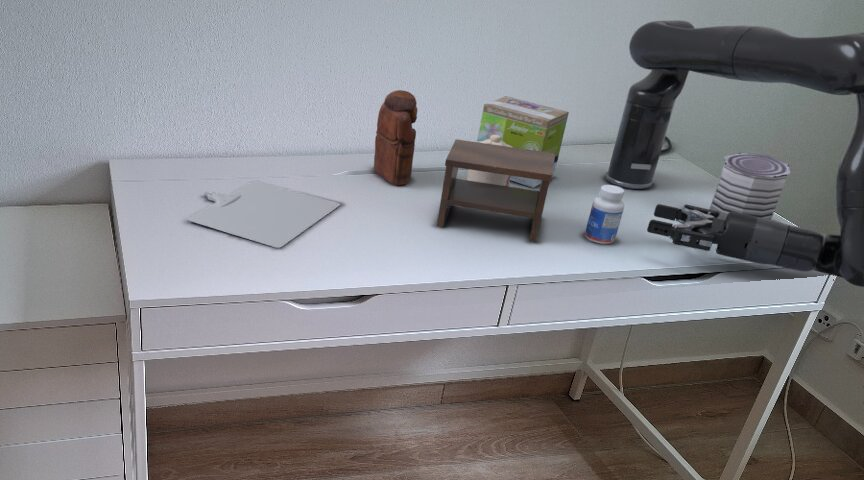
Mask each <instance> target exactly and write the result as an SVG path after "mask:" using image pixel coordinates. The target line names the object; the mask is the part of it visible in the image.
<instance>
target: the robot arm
mask: <svg viewBox="0 0 864 480" xmlns="http://www.w3.org/2000/svg"><path fill="white" fill-rule="evenodd" d="M628 45H629V46H628V50H629V55H630V58H631V59H632V61H633V62H634V64H636V66H638V67H639V68H641V69H643V70H648V71H649V73H648V74H647V75H646V76H645V77H643V78H642V79H640V80H638V81H636V82H635V83H633V84H632V85H631V86H630V87H629V89H628V92H627V95H626V99H625V104H624V108H623V111H622V116H621V120H620V123H619V126H618V127H619V128H618V131H617V135H616V139H615V143H614V147H613V150H612V154H611V158H610V162H609V165H608V170H607V172H606V175H605V180H606V181H607V182H609V183H610V184H611V185H614V186H618V187H621V188H625V189H633V190H644V189H650V188H651V187H652V185H653V182H654V176H655V173H656V170H657V167H658V163H659V160H660V156H661V154H663V153H667V152H669V151H671V149H672V147H673V146H672V145H673V144H672V142H671V140H670V138H669V137H668V136H666V135H667V132H668V128H669V125H670V122H671V118H672V113H673V111H674V106H675V104H676V102H677V101H676V100H677V98H678V97H679V96H680V95H681V93H682V91H683V90H684V87H685V84H686V82H687V78H688V76H689V72H693V73H697V74H702V75H707V76H710V77H711V76H712V77H716V78H722V79H727V80H734V81H741V82H749V83H762V84H763V83H764V84H765V83H766V84H775V83H776V84H777V83H778V84H780V83H782V84H790V85H795V86H798V87H801V88H802V87H803V88H807V89H809V90H810V89H811V90H814V91H817V92H822V93H824V94H828V95H832V96H833V95H834V96H851V95H855V101H856V102H855V103H856V115H855V122H854V126H853V130H852V133H851V136H850V138H849V141H848V143H847V146H846V148H845V150H844V153H843V155H842V157H841V160H840V162H839V166H838V169H837V175H836V182H835V183H836V184H835V185H836V186H835V190H836V192H835V200H836V201H835V202H836V203H835V204H836V205H835V207H836V217H837V222H838V224H839V228H840V234H834V233H826V232H821V231H817V230H814V229H811V228H806V227H801V226H798V225H797V226H796V225H793V224H787V223H785V222H784V223H783V222H781V221H778V220H774V219H771V220H770V219H766V218H761V217H756V216H751V215H746V214H741V213H736V212H730V213H728V215H727V217H726V220H721V219H718V217H719V214H720V212H718V211H713V210H709V209H710V208H709V209H708V208H704V207H700V206H697V205H696V206H695V205H691V204H684V205H683V206H680V207H675V206H672V205H671V206H670V205H666V204H661V203H658V204H656V205H655V208H654V211H653V216H654V217H655V218H658V219H659V218H660V219H664V220H669V221H676V222H677V223H679V224H677V223H676V224H674V223H671V222H667V221H662V220H657V219H650V220H649V222H648V226H647V229H646V231H647V232H648V233H649V234H654V235H659V236H664V237H668V238H669V239H670V240H672V242H671V244H673V245H676V246H681V247H686V248H692V249H696V250H701V251H706V252H709V251H711V249H712V246H713V245H716V249H715V253H716V254H717V255H719V256H723V257H728V258H733V259H737V260H741V261H746V262H750V263H755V264H760V265H768V266H776V267H780V268H785V269H789V270H794V271H799V272H811V271H813V272H817V273H822V274H826V275H829V276H834V277H838V278H843V279H844V280H845V281H846V282H848V283H849V284H851V285H853V286H857V287H862V288H864V32H855V33H854V32H853V33H845V34H839V35H831V36H813V37H812V36H811V37H810V36H809V37H806V36H805V37H802V36H793V35H790V34H788V33H786V32H784V31H783V30H780V29H777V28H774V27H768V26H762V25H761V26H758V25H742V24H741V25H739V24H737V25H718V26H707V27H696V28H695V26H694V25H693V24H692V23H691V22H690V21H687V20H678V19H677V20H675V19H674V20H673V19H672V20H671V19H669V20H653V21H649V22H647V23H644V24H643V25H640V27H638V28H637V29H636V30H635V31H634V33H633V35H632V36H631V38H630V40H629V43H628ZM665 141H666V143H667V148H664V149H663V146H664V143H665Z"/></svg>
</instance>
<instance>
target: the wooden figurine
mask: <svg viewBox="0 0 864 480" xmlns="http://www.w3.org/2000/svg"><path fill="white" fill-rule="evenodd" d="M417 119H418V107H417V100H416V96H415V95H414V94H412V93H411V92H409V91H407V90H402V89H399V90H394V91H391V92H389V94H387V95H386V96H385V98H384V101H383V103H382V104H381V106H380V108H379V112H378V116H377V123H376V132H375V139H374V157H373V169H374V173H376V174H377V175H379V176H380V177H382V178H383V179H384V180H386V181H387V182H388V183H390V184H391V185H393V186H404V185H406V184H408V183H409V182H410V181H411V177H412V172H413V171H412V170H413V162H414V154H415V147H416V146H415V145H416V144H415V143H416V137H417V131H416V129H415V128H413V124H415V123H416V122H417Z"/></svg>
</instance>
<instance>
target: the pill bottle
mask: <svg viewBox="0 0 864 480" xmlns="http://www.w3.org/2000/svg"><path fill="white" fill-rule="evenodd" d="M624 195H625V189H623V187H621V186H617V185H615V184H604V185H601V186H600V189H599V193H598V196H595V198H594V199H593V201H592V204H591V208H590V212H589V216H588V220H587V224H586V227H585V231H584V237H585V238H586V239H587V240H588V241H590V242H593V243H596V244H600V245H601V244H602V245H609V244H612V243H614V242H615V241H616V237H617V235H618V231H619V227H620V225H621V224H620V223H621V220H622V216H623V213H624V209H625V203H624V201H623V200H622V199H623V198H624Z"/></svg>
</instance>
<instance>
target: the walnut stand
mask: <svg viewBox="0 0 864 480" xmlns="http://www.w3.org/2000/svg"><path fill="white" fill-rule="evenodd" d="M554 159H555V153H550V152H542V151H535V150H528V149H521V148H514V147H507V146H500V145H493V144H486V143H479V142H477V141H471V140H463V139H457V138H456V139H455V140H454V142H453V144H452V146H451V148H450V150H449V152H448V154H447V157H446V159H445V163H444V166H445V172H444V177H443V184H442V190H441V196H440V202H439V209H438V215H437V221H436V227H439V228H444V226H445V223H446V221H447V219H448V216H449V214H450V212H451V208H452V206H453V207H459V208H464V209H465V208H466V209H472V210H479V211H483V212H484V211H485V212H491V213H498V214H503V215H509V216H516V217H524V218H528V219H532V224H531V228H530V235H529V240H528V241H529V242H530V243H537V239H538V235H539V230H540V226H541V221H542V218H543V217H542V216H543V213H544V209H545V203H546V199H547V194H548V190H549V187H550V182H552V178H553V177H552V174H553V166H554ZM459 169H464V170H468V169H470V170H477V171H483V172H490V173H497V174H503V175H510V176H517V177H524V178H530V179H537V180H541V184H539V190H533V189H527V188H520V187H516V186H515V187H514V186H509V187H508V186H502V185H495V184H489V183H482V182H475V181H469V180H466V179H462V178H457V177H458V171H459Z"/></svg>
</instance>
